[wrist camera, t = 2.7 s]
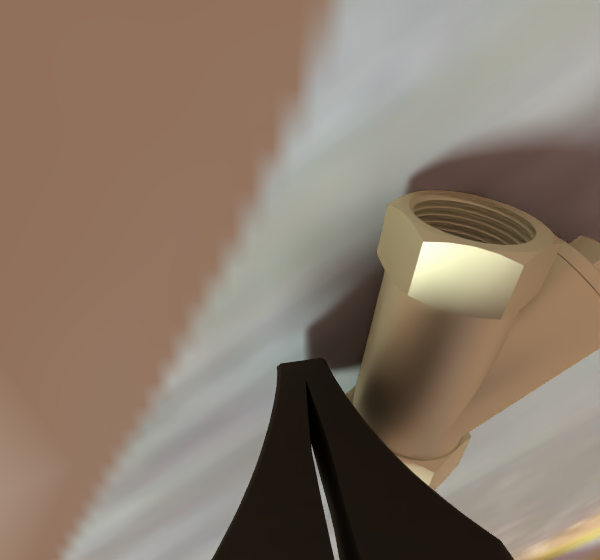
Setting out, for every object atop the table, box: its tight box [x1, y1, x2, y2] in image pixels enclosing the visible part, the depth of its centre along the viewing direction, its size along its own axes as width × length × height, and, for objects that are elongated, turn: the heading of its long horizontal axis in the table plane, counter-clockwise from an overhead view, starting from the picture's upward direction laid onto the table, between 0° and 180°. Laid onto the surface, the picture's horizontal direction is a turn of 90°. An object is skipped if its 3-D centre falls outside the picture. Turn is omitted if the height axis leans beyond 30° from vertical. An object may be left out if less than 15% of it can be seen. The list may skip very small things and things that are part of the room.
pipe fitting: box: [345, 190, 600, 490], centre depth 13 cm, size 8×4×7 cm
